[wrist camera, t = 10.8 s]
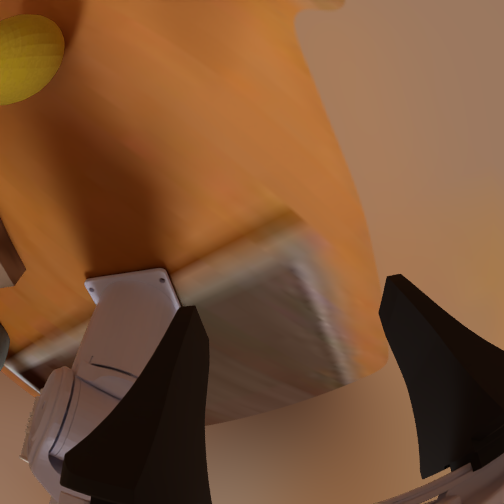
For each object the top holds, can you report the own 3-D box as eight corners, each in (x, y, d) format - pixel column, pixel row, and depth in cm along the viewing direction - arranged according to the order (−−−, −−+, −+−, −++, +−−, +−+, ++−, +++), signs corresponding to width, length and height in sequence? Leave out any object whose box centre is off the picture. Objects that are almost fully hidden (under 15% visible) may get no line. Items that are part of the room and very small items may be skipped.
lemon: (18, 49, 10) (-60, 60, 4) (76, 5, 10) (0, -12, 3) (35, 108, 13) (-44, 140, 7) (94, 69, 13) (14, 76, 6)
